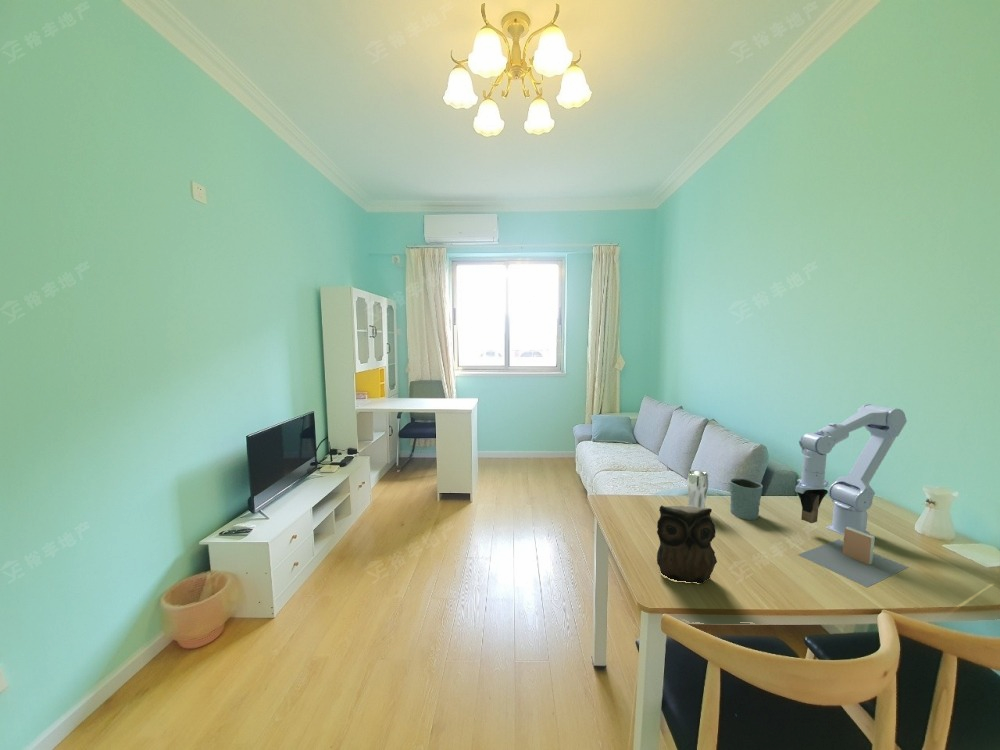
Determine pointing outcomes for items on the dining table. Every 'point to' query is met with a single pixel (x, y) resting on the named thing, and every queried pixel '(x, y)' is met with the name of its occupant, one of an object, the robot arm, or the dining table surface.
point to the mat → (852, 564)
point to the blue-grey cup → (745, 498)
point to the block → (813, 515)
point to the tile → (858, 545)
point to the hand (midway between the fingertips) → (810, 510)
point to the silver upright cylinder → (697, 488)
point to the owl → (686, 543)
